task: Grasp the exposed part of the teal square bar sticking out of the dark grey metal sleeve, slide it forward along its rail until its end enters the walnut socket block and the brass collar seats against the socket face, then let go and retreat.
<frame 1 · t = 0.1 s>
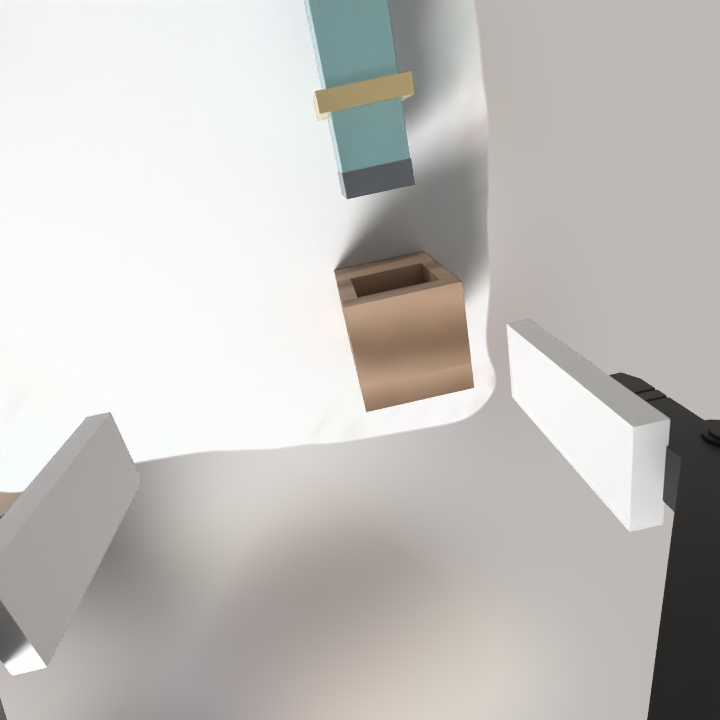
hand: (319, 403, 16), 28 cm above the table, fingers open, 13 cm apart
socket: (386, 303, 44), on the table
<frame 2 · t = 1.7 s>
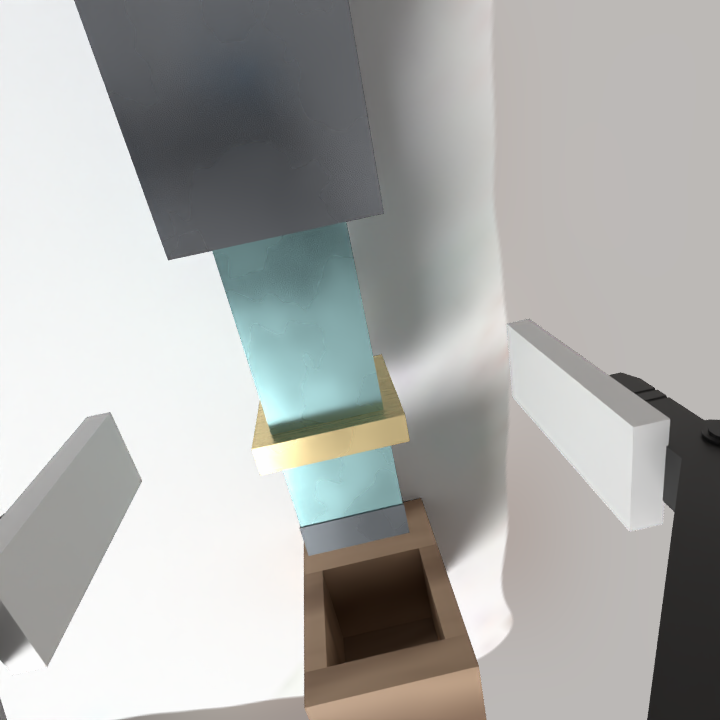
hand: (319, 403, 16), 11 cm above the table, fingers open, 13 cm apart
teal square bar: (277, 209, 17), point 7 cm above the table, slide at 0.0 cm
sleeve: (239, 10, 21), on the table
socket: (373, 555, 34), on the table
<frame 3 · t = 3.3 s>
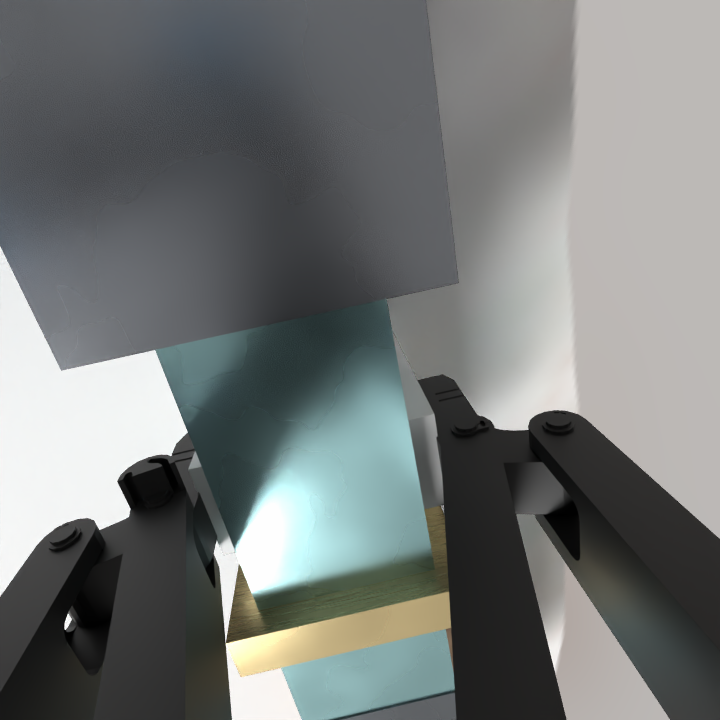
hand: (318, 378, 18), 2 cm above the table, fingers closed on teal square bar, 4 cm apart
teal square bar: (268, 260, 11), point 7 cm above the table, slide at 0.0 cm, touching gripper
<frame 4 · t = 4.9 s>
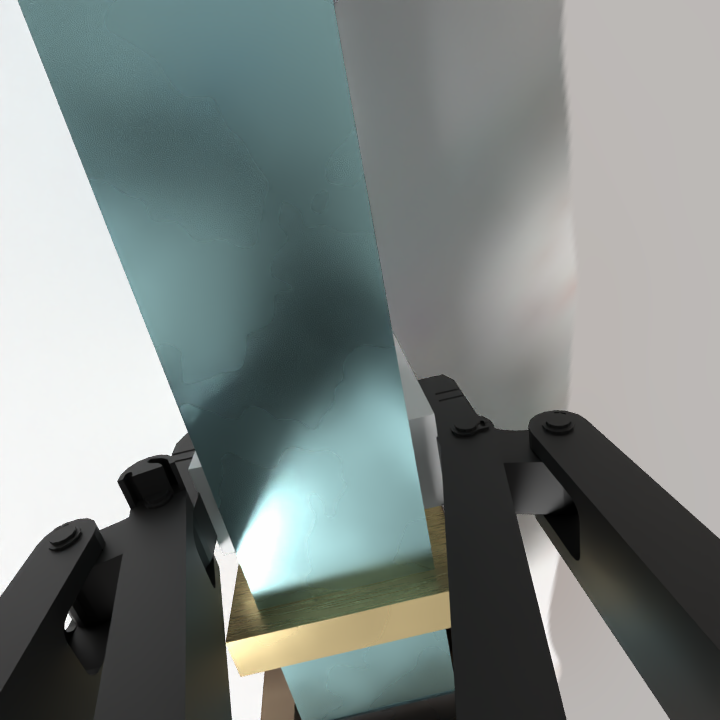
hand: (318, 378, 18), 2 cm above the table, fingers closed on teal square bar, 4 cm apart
teal square bar: (268, 260, 11), point 7 cm above the table, slide at 6.5 cm, touching gripper
socket: (373, 584, 24), on the table
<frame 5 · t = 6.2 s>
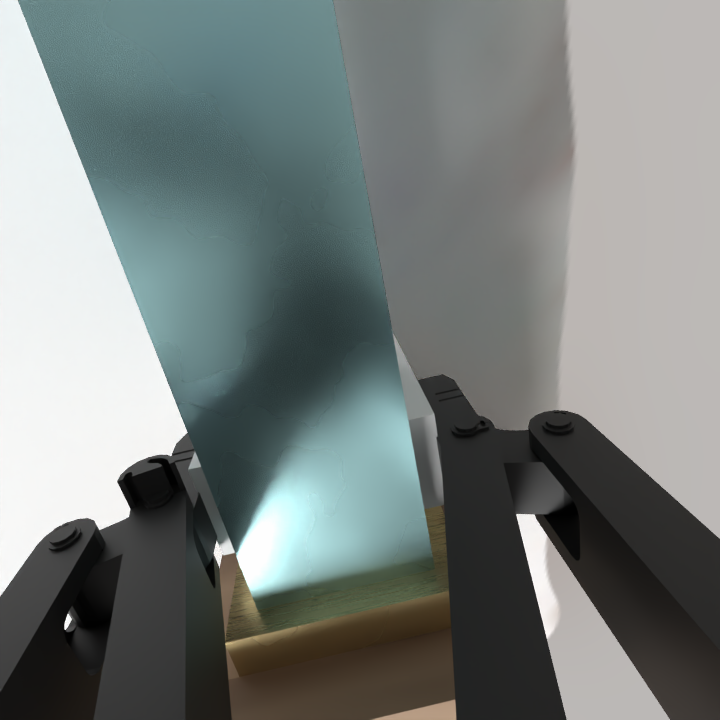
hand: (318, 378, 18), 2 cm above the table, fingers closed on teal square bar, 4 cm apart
teal square bar: (268, 258, 11), point 7 cm above the table, slide at 11.5 cm, touching gripper, socket
socket: (354, 507, 22), on the table
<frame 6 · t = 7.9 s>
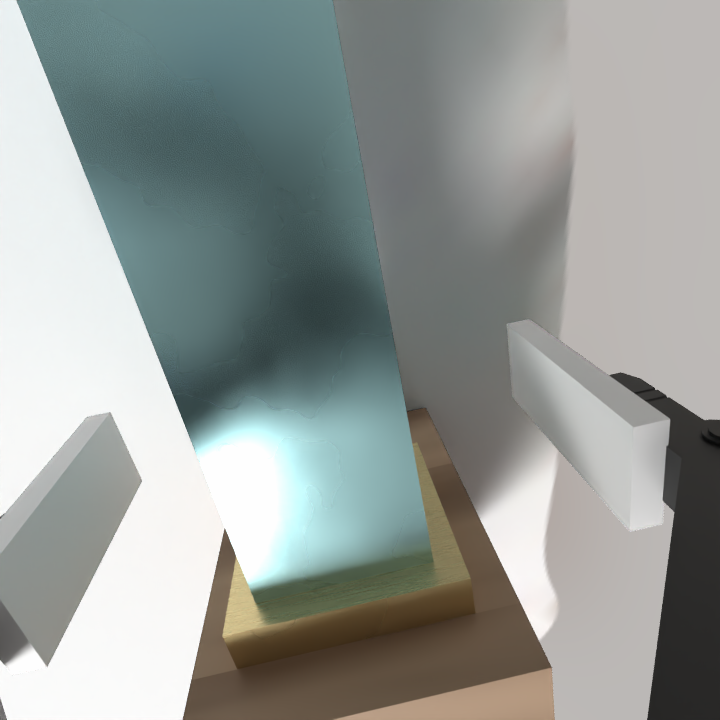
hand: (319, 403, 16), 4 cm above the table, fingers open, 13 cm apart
teal square bar: (265, 249, 11), point 7 cm above the table, slide at 11.5 cm, touching socket
socket: (352, 501, 22), on the table
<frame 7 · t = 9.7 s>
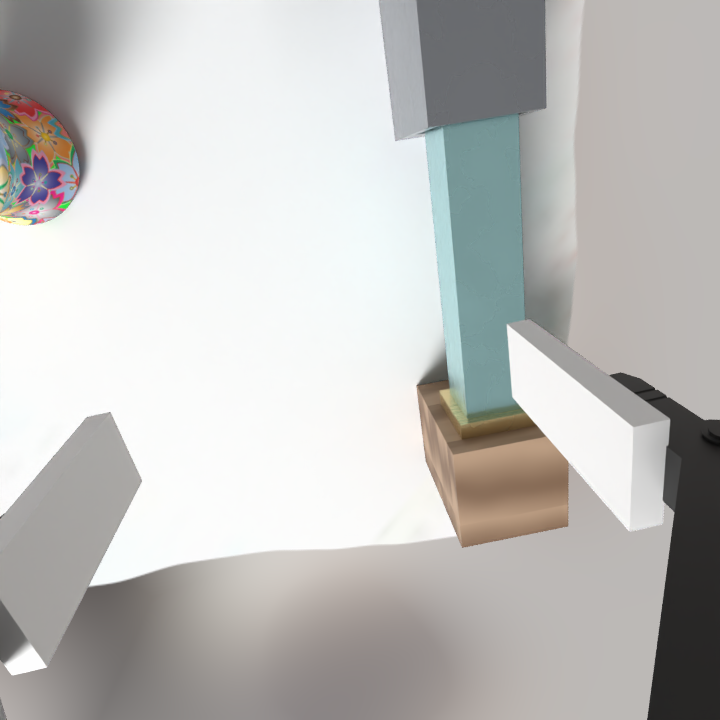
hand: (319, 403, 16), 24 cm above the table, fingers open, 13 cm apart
teal square bar: (480, 300, 33), point 7 cm above the table, slide at 11.5 cm, touching socket
sleeve: (427, 5, 33), on the table
socket: (463, 416, 45), on the table
mug: (0, 159, 34), on the table
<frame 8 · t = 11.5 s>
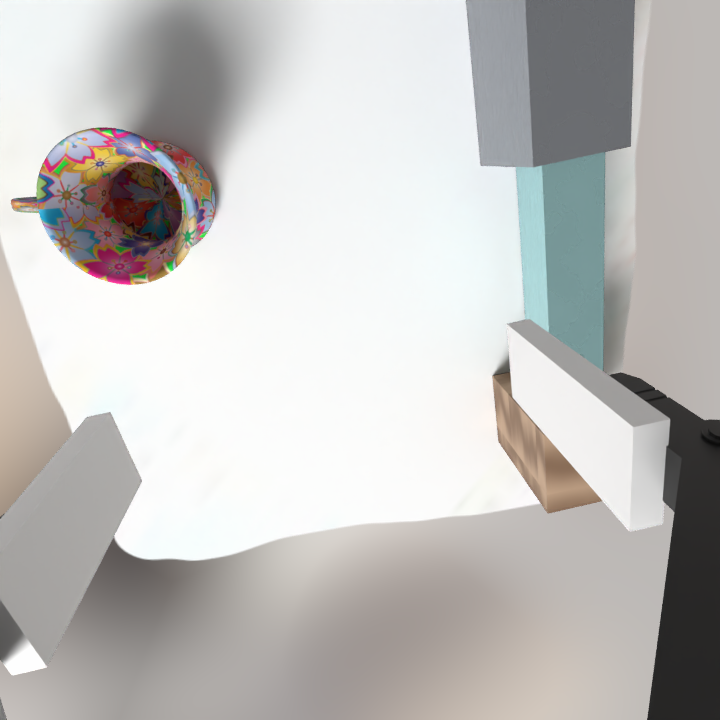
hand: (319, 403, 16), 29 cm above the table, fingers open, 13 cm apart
teal square bar: (562, 303, 39), point 7 cm above the table, slide at 11.5 cm, touching socket
sleeve: (511, 49, 38), on the table
socket: (532, 401, 51), on the table
mug: (147, 197, 39), on the table
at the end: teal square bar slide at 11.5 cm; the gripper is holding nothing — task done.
